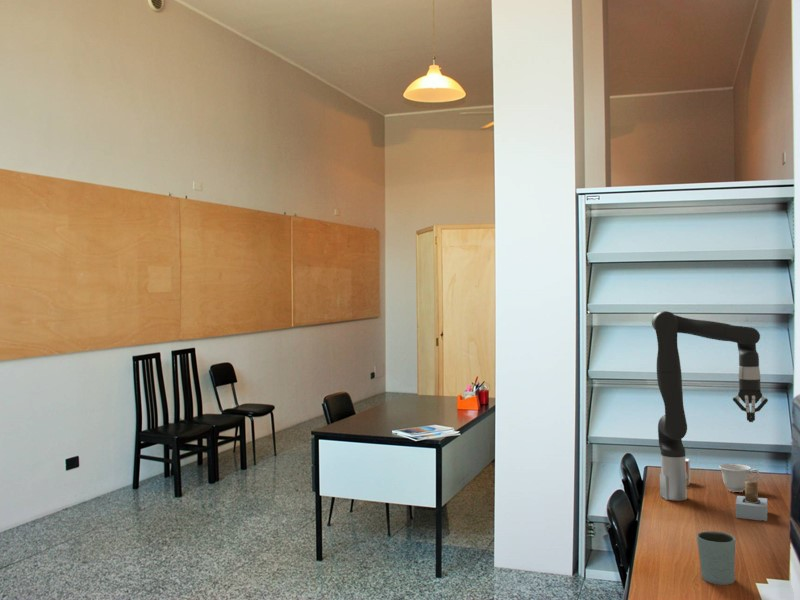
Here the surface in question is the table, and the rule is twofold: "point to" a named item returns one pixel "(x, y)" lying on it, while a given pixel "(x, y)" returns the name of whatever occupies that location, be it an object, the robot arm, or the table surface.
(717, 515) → the table surface
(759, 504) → the hole block
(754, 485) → the walnut peg
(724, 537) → the grey-green cup
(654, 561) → the table surface
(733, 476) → the teacup
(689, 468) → the small box
